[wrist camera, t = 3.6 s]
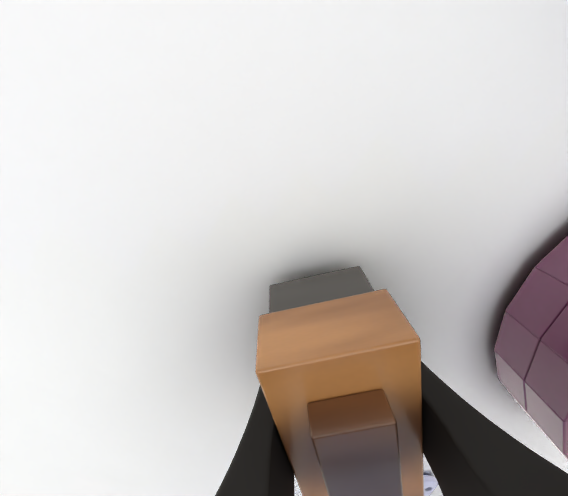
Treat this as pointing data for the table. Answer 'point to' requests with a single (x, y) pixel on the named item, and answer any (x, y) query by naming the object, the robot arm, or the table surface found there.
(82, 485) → the table surface
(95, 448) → the table surface
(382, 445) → the scrub brush
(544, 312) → the bowl
